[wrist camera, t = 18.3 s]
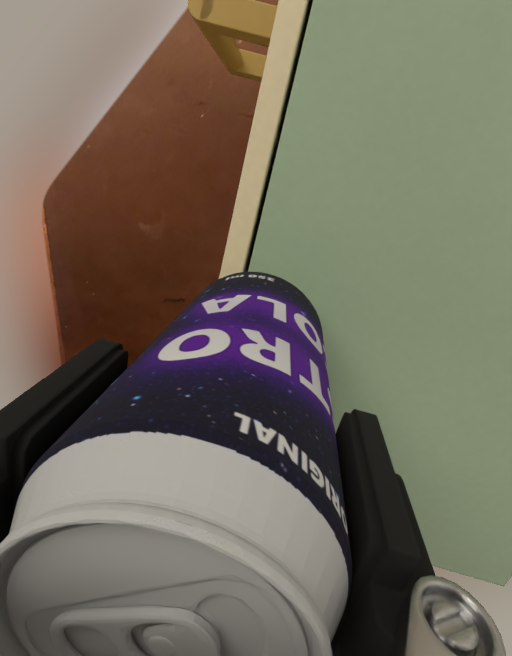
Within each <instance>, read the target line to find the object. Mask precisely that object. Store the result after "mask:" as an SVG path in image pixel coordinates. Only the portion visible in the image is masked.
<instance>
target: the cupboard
mask: <svg viewBox="0 0 512 656" xmlns="http://www.w3.org/2000/svg"><path fill="white" fill-rule="evenodd" d="M248 272H262V273H267V274H271V275H274V276H277V277H280V278H282V279H284V280H286V281H288V282H289V283H291V284H293V285H294V286H295V287H297V288H298V289H299V290H300V291H301V292H302V293H303V294H304V295H305V296H306V297H307V298H308V299H309V300H310V302H311V303H312V305H313V306H314V308H315V310H316V312H317V314H318V316H319V319H320V322H321V326H322V332H323V340H324V348H325V356H326V363H327V371H328V379H329V387H330V395H331V402H332V410H333V418H334V426H335V433H336V431H337V429H338V426H339V424H340V421H341V419H342V416H343V414H344V413H345V412H347V413H351V412H352V411H353V410H354V409H357V410H360V411H364V412H368V413H371V414H375V415H376V416H377V417H378V421H379V424H380V427H381V430H382V433H383V436H384V439H385V443H386V446H387V449H388V452H389V455H390V458H391V462H392V465H393V468H394V471H395V473H396V474H399V475H400V476H401V477H402V479H403V481H404V484H405V487H406V490H407V493H408V496H409V499H410V502H411V505H412V508H413V511H414V514H415V517H416V520H417V523H418V526H419V529H420V532H421V535H422V538H423V540H424V543H425V546H426V549H427V552H428V555H429V558H430V561H431V564H432V566H436V567H439V568H443V569H446V570H449V571H453V572H456V573H460V574H463V575H466V576H470V577H473V578H477V579H480V580H484V581H487V582H490V583H494V584H497V585H501V586H505V584H506V583H507V581H508V580H509V579H510V578H511V576H512V0H313V3H312V7H311V11H310V15H309V20H308V24H307V28H306V32H305V36H304V40H303V45H302V49H301V53H300V57H299V61H298V65H297V70H296V74H295V78H294V82H293V86H292V90H291V94H290V99H289V103H288V107H287V111H286V115H285V119H284V124H283V128H282V132H281V136H280V140H279V144H278V149H277V153H276V157H275V161H274V165H273V169H272V174H271V178H270V182H269V186H268V190H267V194H266V199H265V203H264V207H263V211H262V215H261V219H260V224H259V228H258V232H257V236H256V240H255V244H254V248H253V253H252V257H251V261H250V265H249V269H248Z"/></svg>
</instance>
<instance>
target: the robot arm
mask: <svg viewBox="0 0 512 656" xmlns="http://www.w3.org/2000/svg"><path fill="white" fill-rule="evenodd" d="M127 363H128V352H127V351H125V350H123V345H122V344H120V343H117V342H113V341H109V340H106V339H102V338H99V339H97V340H96V341H95V342H93V343H92V344H91V345H89V346H88V347H86V348H85V349H84V350H82V351H81V352H80V353H78V354H77V355H76V356H74V357H73V358H72V359H70V360H69V361H68V362H66V363H65V364H63V365H62V366H61V367H59V368H58V369H57V370H55V371H54V372H53V373H51V374H50V375H49V376H47V377H46V378H44V379H42V380H41V381H40V382H38V383H37V384H36V385H34V386H33V387H31V388H30V389H29V390H27V391H26V392H24V393H23V394H22V395H20V396H19V397H18V398H16V399H15V400H14V401H12V402H11V403H10V404H8V405H7V406H6V407H4V408H3V409H1V410H0V543H1V542H2V541H3V540H4V539H5V538H6V537H7V536H8V535H9V532H10V528H11V524H12V520H13V516H14V512H15V508H16V504H17V500H18V496H19V494H20V491H21V488H22V485H23V483H24V480H25V479H26V477H27V475H28V473H29V471H30V470H31V468H32V467H33V465H34V464H35V463H36V462H37V461H38V459H39V458H40V457H41V456H42V455H43V454H44V453H45V452H46V451H47V450H48V449H49V448H50V447H51V446H52V445H53V444H54V443H55V442H56V441H57V440H58V439H59V438H60V437H61V436H62V435H63V434H64V432H65V431H66V430H67V429H68V428H69V427H70V426H71V425H72V424H73V423H74V422H75V421H76V420H77V419H78V418H79V417H80V416H81V415H82V414H83V413H84V412H85V411H86V410H87V409H88V408H89V407H90V406H91V405H92V404H93V403H94V402H95V401H96V400H97V399H98V398H99V397H100V396H101V395H102V394H103V393H104V392H105V391H106V390H107V388H108V387H109V386H110V385H111V384H112V383H113V382H114V381H115V380H116V379H117V378H118V377H119V376H120V375H121V374H122V373H123V372H124V371H125V370H126V369H127ZM336 441H337V449H338V457H339V464H340V472H341V480H342V488H343V496H344V503H345V511H346V519H347V527H348V534H349V542H350V550H351V558H352V570H353V575H352V586H351V591H350V595H349V598H348V601H347V605H346V608H345V610H344V613H343V615H342V618H341V620H340V622H339V625H338V627H337V630H336V632H335V635H334V637H333V639H332V642H331V649H332V656H506V652H505V648H504V644H503V641H502V637H501V634H500V632H499V630H498V628H497V627H496V625H495V623H494V621H493V619H492V618H491V616H490V615H489V614H488V613H487V611H486V610H485V609H484V607H483V606H482V605H481V604H480V603H479V602H478V601H477V600H476V599H475V598H474V597H473V596H472V595H471V594H470V593H469V592H467V591H466V590H465V589H463V588H461V587H460V586H459V585H457V584H456V583H454V582H452V581H449V580H447V579H445V578H443V577H437V576H435V573H434V571H433V567H432V564H431V561H430V558H429V555H428V552H427V549H426V546H425V543H424V540H423V538H422V535H421V532H420V529H419V526H418V523H417V520H416V517H415V514H414V511H413V508H412V505H411V502H410V499H409V496H408V493H407V490H406V487H405V484H404V481H403V479H402V477H401V476H400V475H399V474H396V473H395V471H394V468H393V465H392V462H391V458H390V455H389V452H388V449H387V446H386V443H385V439H384V436H383V433H382V430H381V427H380V424H379V421H378V417H377V416H376V415H375V414H371V413H368V412H364V411H360V410H357V409H354V410H353V411H352V412H351V413H347V412H345V413H344V414H343V416H342V419H341V421H340V424H339V426H338V429H337V431H336Z"/></svg>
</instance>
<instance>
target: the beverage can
mask: <svg viewBox="0 0 512 656" xmlns="http://www.w3.org/2000/svg"><path fill="white" fill-rule="evenodd" d="M352 575H353V570H352V558H351V550H350V542H349V534H348V527H347V519H346V511H345V503H344V496H343V488H342V480H341V472H340V464H339V457H338V449H337V441H336V433H335V426H334V418H333V410H332V402H331V395H330V387H329V379H328V371H327V363H326V356H325V348H324V340H323V332H322V326H321V322H320V319H319V316H318V314H317V312H316V310H315V308H314V306H313V305H312V303H311V302H310V300H309V299H308V298H307V297H306V296H305V295H304V294H303V293H302V292H301V291H300V290H299V289H298V288H297V287H295V286H294V285H293V284H291V283H289V282H288V281H286V280H284V279H282V278H280V277H277V276H274V275H271V274H267V273H262V272H240V273H235V274H231V275H228V276H225V277H223V278H220V279H218V280H217V281H215V282H213V283H212V284H210V285H209V286H208V287H207V288H205V289H204V290H203V291H202V292H201V293H200V294H199V295H198V296H197V297H196V298H195V299H194V300H193V301H192V303H191V304H190V305H189V306H188V307H187V308H186V309H185V310H184V311H183V312H182V313H181V314H180V315H179V316H178V317H177V318H176V319H175V320H174V321H173V322H172V323H171V324H170V325H169V326H168V327H167V328H166V329H165V330H164V331H163V332H162V333H161V334H160V335H159V336H158V337H157V338H156V339H155V340H154V341H153V342H152V343H151V344H150V346H149V347H148V348H147V349H146V350H145V351H144V352H143V353H142V354H141V355H140V356H139V357H138V358H137V359H136V360H135V361H134V362H133V363H132V364H131V365H130V366H129V367H128V368H127V369H126V370H125V371H124V372H123V373H122V374H121V375H120V376H119V377H118V378H117V379H116V380H115V381H114V382H113V383H112V384H111V385H110V386H109V387H108V388H107V390H106V391H105V392H104V393H103V394H102V395H101V396H100V397H99V398H98V399H97V400H96V401H95V402H94V403H93V404H92V405H91V406H90V407H89V408H88V409H87V410H86V411H85V412H84V413H83V414H82V415H81V416H80V417H79V418H78V419H77V420H76V421H75V422H74V423H73V424H72V425H71V426H70V427H69V428H68V429H67V430H66V431H65V432H64V434H63V435H62V436H61V437H60V438H59V439H58V440H57V441H56V442H55V443H54V444H53V445H52V446H51V447H50V448H49V449H48V450H47V451H46V452H45V453H44V454H43V455H42V456H41V457H40V458H39V459H38V461H37V462H36V463H35V464H34V465H33V467H32V468H31V470H30V471H29V473H28V475H27V477H26V479H25V480H24V483H23V485H22V488H21V491H20V494H19V496H18V500H17V504H16V508H15V512H14V516H13V520H12V524H11V528H10V532H9V535H8V536H7V537H6V538H5V539H4V540H3V541H2V542H1V543H0V656H332V649H331V642H332V639H333V637H334V635H335V632H336V630H337V627H338V625H339V622H340V620H341V618H342V615H343V613H344V610H345V608H346V605H347V601H348V598H349V595H350V591H351V586H352Z"/></svg>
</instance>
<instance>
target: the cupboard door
mask: <svg viewBox="0 0 512 656" xmlns="http://www.w3.org/2000/svg"><path fill="white" fill-rule="evenodd" d="M312 3H313V0H279V1H278V6H275V5H271V4H267V3H263V2H259V1H255V0H188V9H189V12H190V14H191V16H192V17H193V19H194V20H195V22H196V23H197V25H198V26H199V28H200V29H201V31H202V32H203V34H204V35H205V37H206V38H207V40H208V41H209V43H210V44H211V46H212V47H213V49H214V50H215V52H216V53H217V55H218V56H219V58H220V59H221V61H222V62H223V64H224V65H225V67H226V68H227V70H228V71H229V72H230V73H231V74H233V75H236V76H240V77H244V78H248V79H252V80H256V81H259V82H261V85H260V90H259V95H258V99H257V104H256V108H255V113H254V118H253V122H252V127H251V132H250V136H249V141H248V146H247V150H246V155H245V160H244V164H243V169H242V174H241V178H240V183H239V188H238V192H237V197H236V202H235V206H234V211H233V216H232V220H231V225H230V230H229V234H228V239H227V244H226V248H225V253H224V258H223V262H222V267H221V272H220V276H219V279H220V278H223V277H225V276H228V275H231V274H235V273H240V272H248V269H249V265H250V261H251V257H252V253H253V248H254V244H255V240H256V236H257V232H258V228H259V224H260V219H261V215H262V211H263V207H264V203H265V199H266V194H267V190H268V186H269V182H270V178H271V174H272V169H273V165H274V161H275V157H276V153H277V149H278V144H279V140H280V136H281V132H282V128H283V124H284V119H285V115H286V111H287V107H288V103H289V99H290V94H291V90H292V86H293V82H294V78H295V74H296V70H297V65H298V61H299V57H300V53H301V49H302V45H303V40H304V36H305V32H306V28H307V24H308V20H309V15H310V11H311V7H312ZM234 38H236V39H240V40H244V41H247V42H251V43H255V44H259V45H263V46H267V47H269V48H268V53H267V56H265V55H261V54H258V53H254V52H250V51H246V50H242V49H238V47H237V44H236V42H235V40H234Z"/></svg>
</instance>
